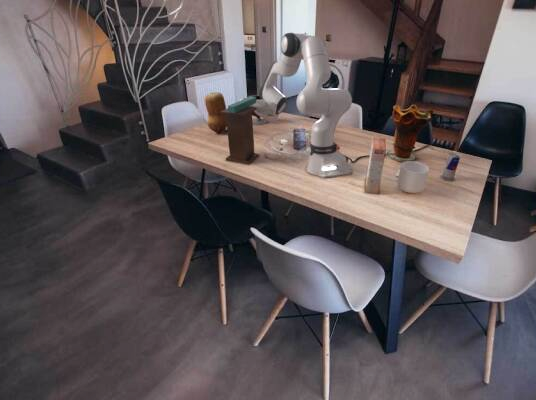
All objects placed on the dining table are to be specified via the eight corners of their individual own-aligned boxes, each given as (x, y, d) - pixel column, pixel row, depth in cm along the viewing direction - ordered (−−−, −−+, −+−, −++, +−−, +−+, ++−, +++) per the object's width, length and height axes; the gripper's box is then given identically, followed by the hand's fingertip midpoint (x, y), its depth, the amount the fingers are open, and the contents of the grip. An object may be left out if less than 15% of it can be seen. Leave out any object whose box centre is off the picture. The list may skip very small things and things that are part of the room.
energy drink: (452, 181, 147) (459, 158, 141) (440, 178, 150) (447, 155, 144) (454, 177, 151) (461, 154, 145) (442, 174, 154) (449, 152, 148)
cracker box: (379, 194, 135) (386, 149, 124) (365, 192, 136) (371, 148, 125) (378, 179, 147) (386, 138, 136) (366, 178, 148) (372, 136, 137)
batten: (250, 102, 164) (250, 96, 163) (256, 102, 163) (256, 97, 162) (228, 112, 147) (227, 105, 145) (234, 113, 146) (234, 106, 144)
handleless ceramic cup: (413, 198, 133) (419, 174, 127) (390, 187, 140) (395, 165, 135) (428, 190, 139) (434, 167, 134) (405, 180, 147) (410, 159, 142)
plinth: (238, 151, 172) (234, 104, 159) (259, 155, 169) (257, 107, 155) (225, 161, 161) (219, 111, 148) (247, 165, 157) (243, 114, 144)
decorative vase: (428, 155, 175) (441, 105, 160) (409, 167, 160) (422, 113, 146) (395, 145, 187) (404, 98, 172) (375, 156, 172) (383, 105, 158)
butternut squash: (207, 130, 202) (201, 90, 189) (227, 128, 207) (223, 89, 194) (211, 137, 192) (205, 95, 179) (232, 134, 197) (228, 94, 184)
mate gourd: (246, 124, 216) (244, 94, 206) (252, 118, 228) (250, 90, 217) (267, 125, 214) (266, 96, 204) (272, 120, 226) (271, 91, 215)
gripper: (247, 101, 177) (235, 92, 164) (279, 104, 172) (269, 96, 158) (245, 111, 178) (232, 104, 164) (277, 116, 172) (267, 108, 159)
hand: (251, 100), depth 161 cm, fingers open, 8 cm apart
